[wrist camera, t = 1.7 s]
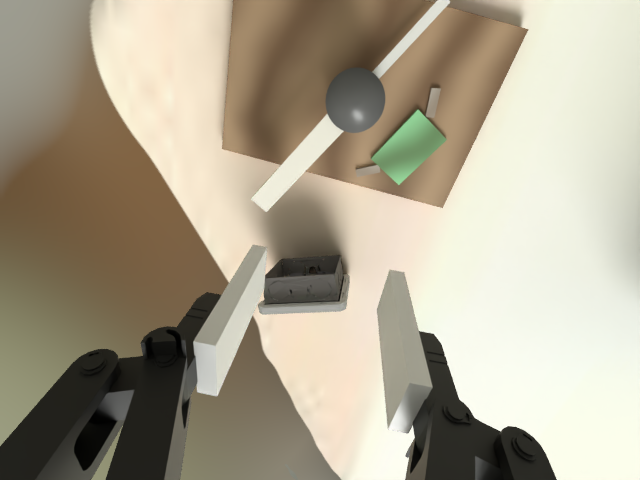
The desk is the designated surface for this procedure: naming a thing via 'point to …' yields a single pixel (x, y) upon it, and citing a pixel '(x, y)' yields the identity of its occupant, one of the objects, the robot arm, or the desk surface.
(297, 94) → the board
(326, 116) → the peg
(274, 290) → the electrical switch
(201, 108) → the desk surface
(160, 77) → the desk surface
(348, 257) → the desk surface
